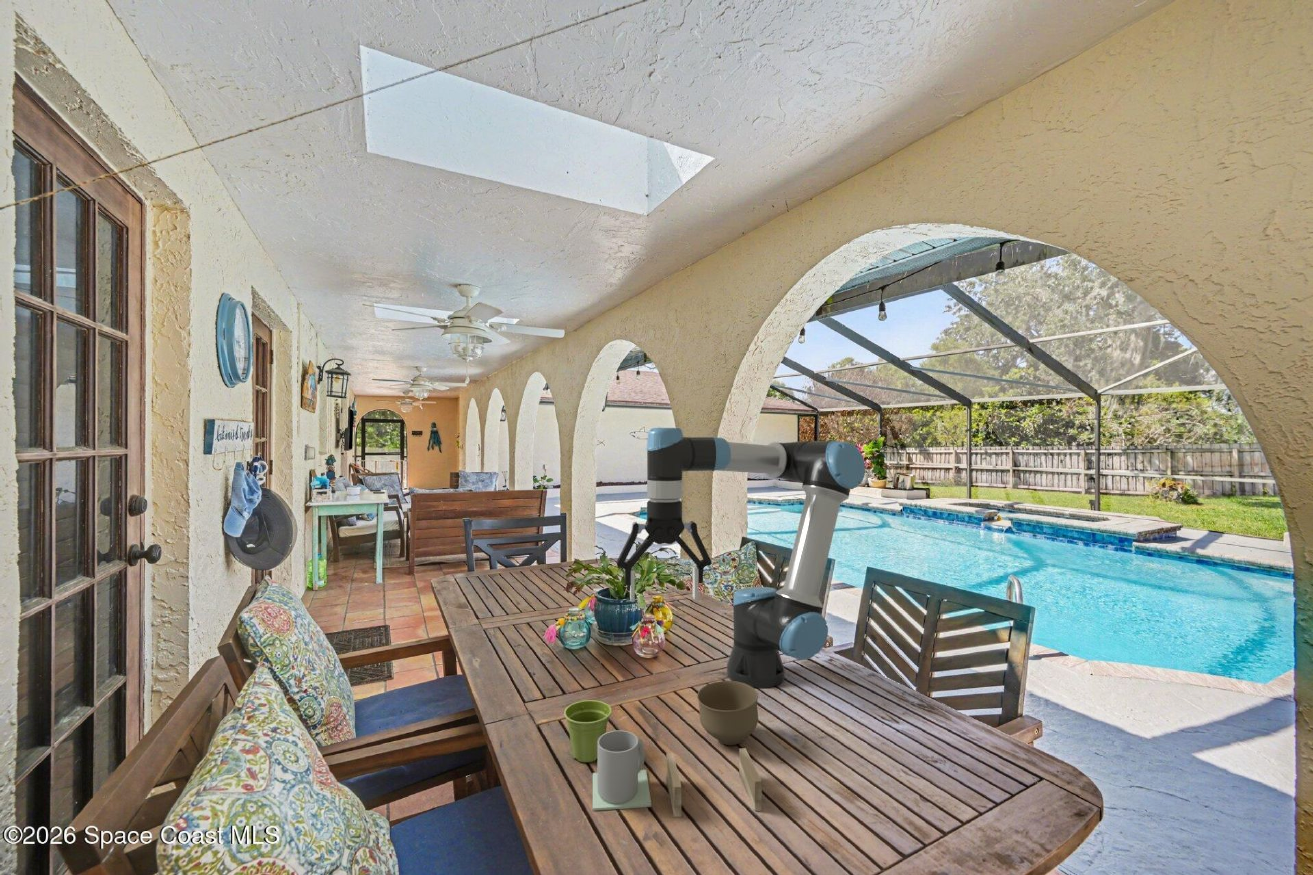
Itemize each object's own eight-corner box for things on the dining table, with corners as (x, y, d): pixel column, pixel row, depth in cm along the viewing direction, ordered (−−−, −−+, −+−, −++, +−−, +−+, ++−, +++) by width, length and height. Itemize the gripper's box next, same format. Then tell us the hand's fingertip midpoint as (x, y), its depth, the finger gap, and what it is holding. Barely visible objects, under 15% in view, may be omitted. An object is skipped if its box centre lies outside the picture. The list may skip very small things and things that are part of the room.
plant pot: (565, 742, 114) (565, 700, 114) (611, 740, 115) (611, 698, 115) (561, 769, 105) (562, 723, 105) (611, 767, 106) (611, 721, 106)
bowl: (686, 731, 119) (687, 685, 119) (737, 720, 124) (737, 675, 124) (715, 763, 107) (716, 712, 107) (770, 749, 112) (770, 700, 112)
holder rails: (745, 775, 104) (745, 748, 104) (761, 810, 94) (761, 781, 94) (666, 780, 102) (666, 753, 102) (674, 817, 92) (674, 787, 92)
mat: (645, 771, 104) (645, 769, 104) (651, 806, 95) (651, 804, 95) (592, 775, 103) (592, 772, 103) (592, 810, 93) (592, 808, 93)
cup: (588, 791, 98) (589, 741, 98) (630, 767, 105) (630, 720, 105) (615, 810, 93) (615, 757, 93) (657, 784, 100) (657, 735, 100)
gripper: (717, 497, 123) (717, 592, 123) (605, 498, 120) (605, 595, 120) (725, 501, 116) (725, 602, 116) (606, 502, 113) (605, 606, 113)
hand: (664, 599), depth 118 cm, fingers open, 13 cm apart
